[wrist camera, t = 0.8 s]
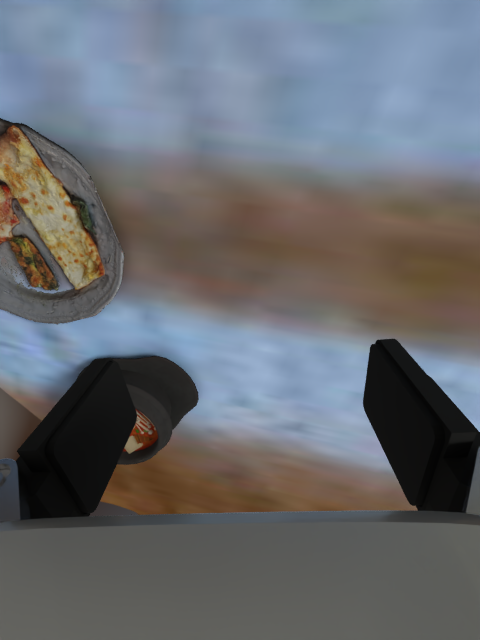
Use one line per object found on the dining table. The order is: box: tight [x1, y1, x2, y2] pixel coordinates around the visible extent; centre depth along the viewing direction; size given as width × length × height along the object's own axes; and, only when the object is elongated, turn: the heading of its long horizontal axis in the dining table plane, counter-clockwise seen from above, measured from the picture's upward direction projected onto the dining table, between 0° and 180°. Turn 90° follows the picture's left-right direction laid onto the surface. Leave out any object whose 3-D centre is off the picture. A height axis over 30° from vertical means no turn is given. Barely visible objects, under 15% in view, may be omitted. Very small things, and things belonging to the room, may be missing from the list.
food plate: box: [0, 118, 124, 324], centre depth 36 cm, size 25×23×4 cm
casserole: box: [77, 356, 198, 465], centre depth 46 cm, size 25×19×8 cm
